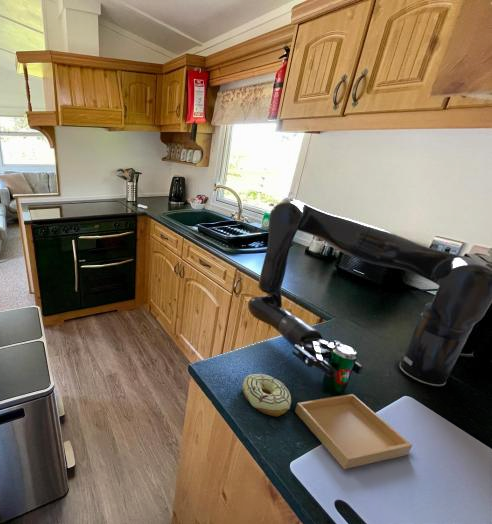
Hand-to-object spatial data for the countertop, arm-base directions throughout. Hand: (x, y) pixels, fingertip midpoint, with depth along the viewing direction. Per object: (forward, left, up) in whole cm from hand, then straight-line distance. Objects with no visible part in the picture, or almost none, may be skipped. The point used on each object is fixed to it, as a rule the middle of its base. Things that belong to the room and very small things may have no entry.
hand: (347, 372), depth 68 cm
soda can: (0, -2, -7) cm, 8 cm away
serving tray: (+7, +9, -7) cm, 13 cm away
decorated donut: (+19, -2, -7) cm, 21 cm away
